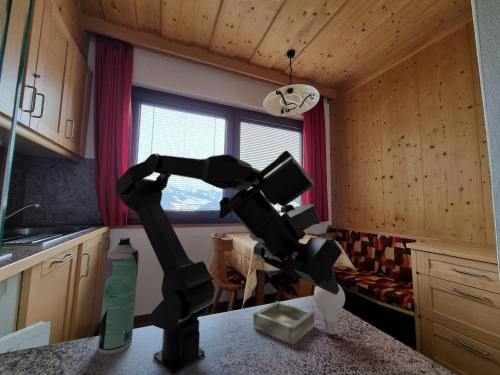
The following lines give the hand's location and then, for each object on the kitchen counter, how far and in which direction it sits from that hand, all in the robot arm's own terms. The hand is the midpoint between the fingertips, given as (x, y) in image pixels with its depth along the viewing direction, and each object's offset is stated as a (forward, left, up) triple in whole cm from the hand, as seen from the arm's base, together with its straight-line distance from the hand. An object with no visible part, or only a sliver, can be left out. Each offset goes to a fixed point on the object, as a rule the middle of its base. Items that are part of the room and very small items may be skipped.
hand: (317, 283), depth 39 cm
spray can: (-32, -20, -13) cm, 40 cm away
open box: (-11, +7, -13) cm, 19 cm away
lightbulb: (-2, +11, -13) cm, 18 cm away
